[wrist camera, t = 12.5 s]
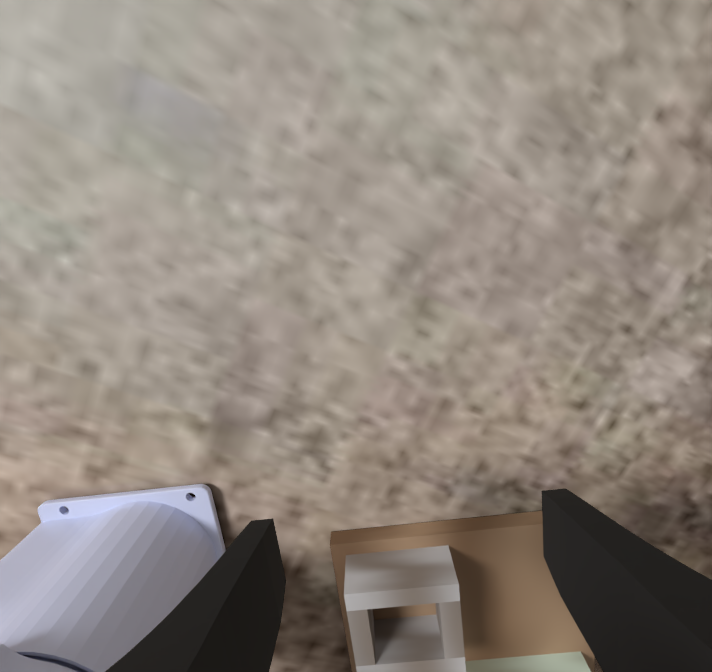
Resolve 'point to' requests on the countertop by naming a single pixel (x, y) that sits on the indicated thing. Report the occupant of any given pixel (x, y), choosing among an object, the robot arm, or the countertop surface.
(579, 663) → the socket board
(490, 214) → the countertop surface
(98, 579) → the robot arm
